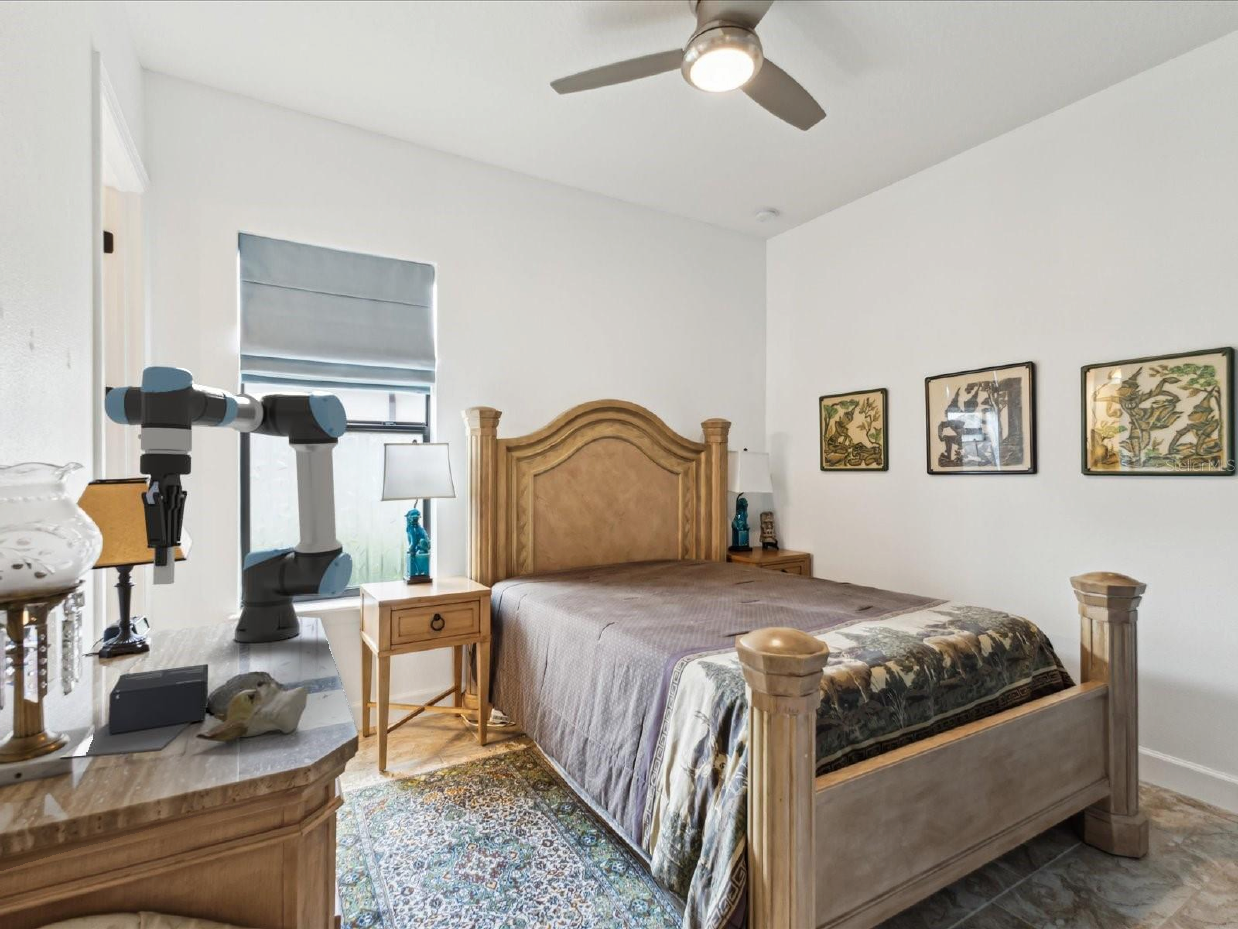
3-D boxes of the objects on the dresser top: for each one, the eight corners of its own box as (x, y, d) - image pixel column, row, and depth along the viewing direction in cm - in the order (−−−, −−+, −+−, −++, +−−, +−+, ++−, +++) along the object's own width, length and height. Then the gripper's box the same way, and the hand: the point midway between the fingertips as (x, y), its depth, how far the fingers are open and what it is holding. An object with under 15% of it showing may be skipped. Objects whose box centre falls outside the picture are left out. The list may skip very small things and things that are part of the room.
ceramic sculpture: (301, 684, 100) (192, 699, 95) (303, 740, 99) (194, 757, 95) (312, 667, 110) (214, 679, 105) (315, 716, 110) (217, 731, 105)
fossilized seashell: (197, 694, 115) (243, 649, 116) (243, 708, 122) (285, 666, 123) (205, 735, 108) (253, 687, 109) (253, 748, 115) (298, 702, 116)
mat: (122, 715, 110) (122, 713, 110) (206, 708, 113) (206, 707, 113) (60, 758, 92) (60, 756, 92) (161, 749, 96) (161, 747, 96)
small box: (118, 714, 110) (106, 736, 100) (120, 674, 110) (107, 692, 100) (208, 700, 117) (205, 720, 106) (209, 663, 117) (206, 679, 107)
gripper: (158, 453, 119) (156, 578, 119) (123, 451, 106) (121, 591, 106) (203, 454, 121) (201, 577, 120) (174, 452, 108) (172, 589, 108)
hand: (163, 583), depth 113 cm, fingers closed
